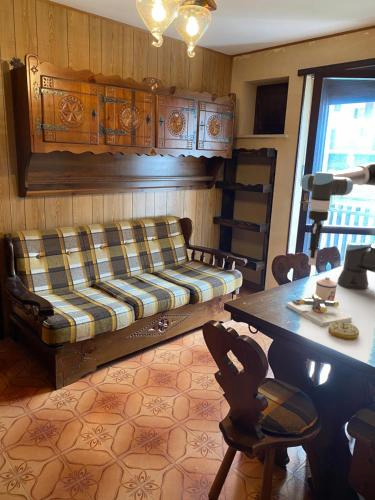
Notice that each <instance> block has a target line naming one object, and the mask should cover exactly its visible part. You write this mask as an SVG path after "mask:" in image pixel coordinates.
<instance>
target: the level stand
mask: <svg viewBox="0 0 375 500" xmlns="http://www.w3.org/2000/svg"><path fill="white" fill-rule="evenodd" d="M300 299H301V298H298V299H292V301H289V302H288V301H287V302H286V307H287V308H289V309H290V310H293V311H294V312H296V313H298V314H299V315H301V316H303V317H304V318H307V319H308V320H310V321H311V322H312V323H313V322H314V323H315V324H317V325H318V324H319V325H318V326H321V327H326V326H328V327H329V325H330V324H332V323H334V322H345V323H350V322H352V317H351V316H350V315H348V314H346V313H344V312H342V311H340V310H337V309H336V308H335V307H334V308H333V307H331V306H325V307H326V308H327V311H326V312H324V313H317V312H315V311H314V310H313V309H312V305H301V304H300V303H299V301H300ZM303 299H310V300H313V299H312V297H306V298H303Z"/></svg>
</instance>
